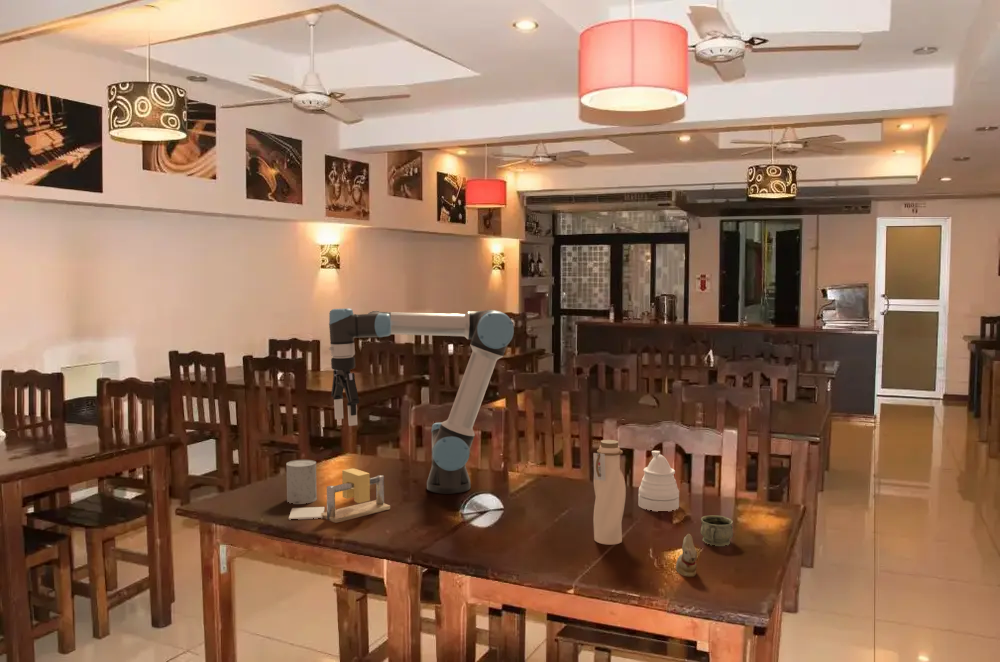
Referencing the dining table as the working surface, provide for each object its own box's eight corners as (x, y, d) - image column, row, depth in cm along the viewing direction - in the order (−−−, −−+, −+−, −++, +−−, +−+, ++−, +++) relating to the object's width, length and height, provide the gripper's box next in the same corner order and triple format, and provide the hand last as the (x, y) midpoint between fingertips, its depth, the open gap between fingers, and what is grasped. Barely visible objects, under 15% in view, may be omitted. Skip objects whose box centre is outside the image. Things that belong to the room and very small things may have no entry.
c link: (342, 497, 247) (342, 470, 246) (353, 494, 250) (353, 468, 249) (358, 503, 241) (358, 475, 240) (369, 500, 243) (369, 473, 243)
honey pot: (662, 514, 245) (663, 457, 244) (630, 505, 255) (630, 450, 254) (687, 506, 254) (688, 451, 253) (654, 497, 264) (655, 444, 262)
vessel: (705, 533, 228) (706, 511, 228) (737, 538, 224) (737, 516, 223) (695, 545, 217) (695, 523, 217) (727, 551, 213) (728, 528, 213)
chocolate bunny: (672, 576, 196) (673, 536, 195) (677, 565, 203) (678, 527, 202) (695, 579, 194) (696, 539, 193) (699, 568, 201) (700, 529, 200)
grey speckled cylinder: (299, 505, 253) (298, 468, 252) (280, 500, 259) (280, 463, 258) (322, 499, 260) (322, 462, 259) (304, 494, 266) (303, 458, 265)
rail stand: (376, 503, 255) (375, 473, 255) (390, 509, 250) (390, 477, 249) (320, 517, 241) (320, 484, 241) (334, 523, 236) (334, 490, 235)
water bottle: (614, 549, 214) (616, 447, 212) (584, 543, 219) (586, 443, 217) (629, 538, 223) (631, 440, 221) (600, 532, 228) (601, 437, 226)
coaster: (324, 508, 250) (324, 506, 250) (322, 518, 240) (322, 516, 240) (292, 510, 248) (292, 508, 248) (288, 519, 238) (288, 517, 238)
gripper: (319, 354, 262) (322, 417, 264) (344, 361, 241) (347, 429, 242) (341, 352, 266) (344, 414, 268) (367, 358, 245) (370, 426, 246)
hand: (346, 422), depth 255 cm, fingers open, 13 cm apart
